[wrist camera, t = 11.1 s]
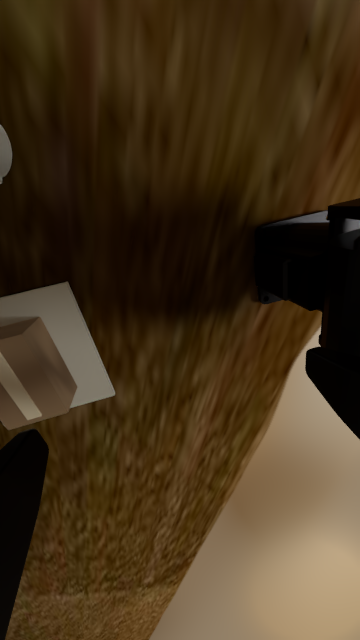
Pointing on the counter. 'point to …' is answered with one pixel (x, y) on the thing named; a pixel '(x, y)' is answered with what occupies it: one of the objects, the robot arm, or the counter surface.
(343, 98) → the counter surface
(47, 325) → the mat
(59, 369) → the ridged brown block
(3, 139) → the photo printer
